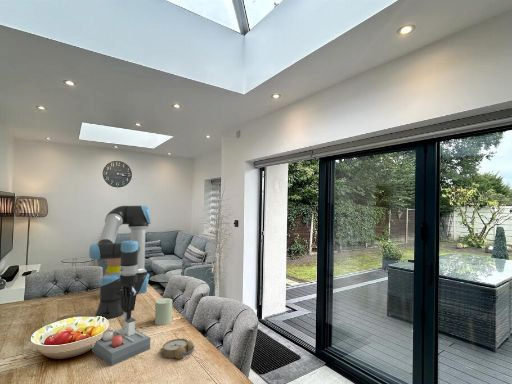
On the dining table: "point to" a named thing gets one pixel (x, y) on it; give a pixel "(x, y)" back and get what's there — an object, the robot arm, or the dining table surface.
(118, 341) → the button red
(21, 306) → the dining table surface
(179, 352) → the alarm clock
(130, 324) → the slider knob
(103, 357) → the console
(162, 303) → the can
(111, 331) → the button cream
